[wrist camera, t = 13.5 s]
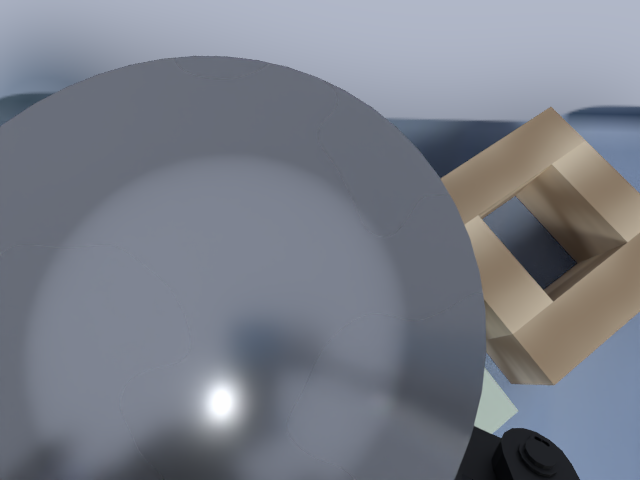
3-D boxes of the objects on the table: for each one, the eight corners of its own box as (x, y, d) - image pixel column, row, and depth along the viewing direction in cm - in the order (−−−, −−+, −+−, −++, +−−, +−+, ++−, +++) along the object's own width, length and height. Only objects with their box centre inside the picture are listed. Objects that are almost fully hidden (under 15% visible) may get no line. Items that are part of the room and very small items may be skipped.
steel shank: (345, 379, 20) (614, 375, 3) (277, 430, 19) (-4, 931, 2) (300, 311, 21) (279, -10, 4) (233, 357, 20) (-213, 215, 3)
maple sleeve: (641, 275, 24) (703, 256, 20) (511, 383, 22) (554, 385, 18) (516, 144, 27) (551, 106, 23) (389, 228, 25) (404, 201, 21)
